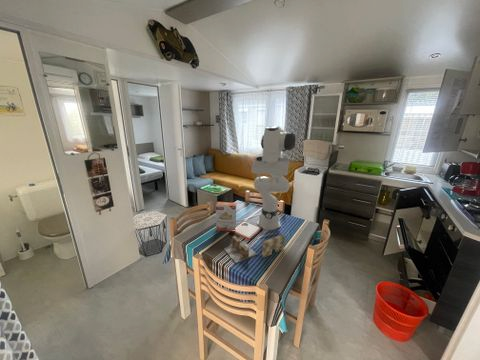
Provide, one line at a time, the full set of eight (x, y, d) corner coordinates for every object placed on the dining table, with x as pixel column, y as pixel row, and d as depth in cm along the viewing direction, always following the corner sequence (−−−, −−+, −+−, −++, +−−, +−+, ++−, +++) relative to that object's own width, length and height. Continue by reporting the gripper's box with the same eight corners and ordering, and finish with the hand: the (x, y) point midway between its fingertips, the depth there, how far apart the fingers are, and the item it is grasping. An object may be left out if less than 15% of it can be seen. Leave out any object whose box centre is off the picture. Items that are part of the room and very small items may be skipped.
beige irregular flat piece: (263, 257, 120) (264, 243, 117) (261, 255, 121) (262, 241, 118) (283, 249, 128) (285, 235, 125) (281, 247, 129) (282, 234, 126)
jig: (223, 248, 127) (223, 239, 125) (243, 241, 134) (243, 233, 132) (236, 264, 114) (236, 254, 112) (257, 255, 122) (257, 245, 119)
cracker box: (216, 230, 147) (215, 204, 140) (217, 226, 152) (217, 201, 146) (235, 232, 146) (235, 205, 139) (236, 227, 151) (236, 202, 145)
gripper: (289, 157, 110) (287, 181, 114) (252, 155, 113) (251, 178, 117) (290, 159, 104) (288, 184, 108) (251, 157, 107) (250, 182, 111)
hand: (268, 181), depth 113 cm, fingers open, 8 cm apart
